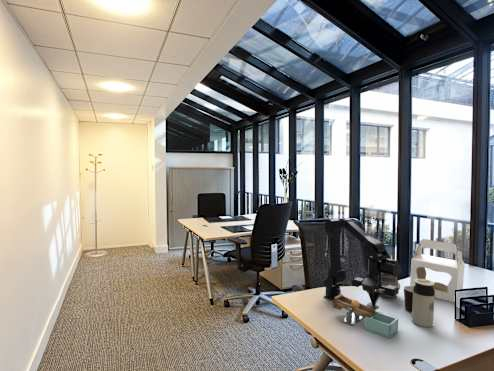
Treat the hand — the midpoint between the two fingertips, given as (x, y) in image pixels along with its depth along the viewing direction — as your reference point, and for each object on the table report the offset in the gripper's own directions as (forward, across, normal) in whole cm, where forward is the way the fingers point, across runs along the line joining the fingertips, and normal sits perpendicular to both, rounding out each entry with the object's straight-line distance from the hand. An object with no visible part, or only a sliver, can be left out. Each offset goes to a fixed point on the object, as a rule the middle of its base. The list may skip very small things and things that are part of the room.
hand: (373, 305), depth 143 cm
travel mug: (+5, +17, +9) cm, 20 cm away
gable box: (+5, +12, +52) cm, 54 cm away
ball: (-2, -4, -10) cm, 11 cm away
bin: (+5, +7, -10) cm, 13 cm away
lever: (+2, -5, -6) cm, 8 cm away
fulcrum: (+5, -5, -10) cm, 12 cm away
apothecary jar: (+5, -5, +29) cm, 30 cm away
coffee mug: (+5, +11, +21) cm, 24 cm away
